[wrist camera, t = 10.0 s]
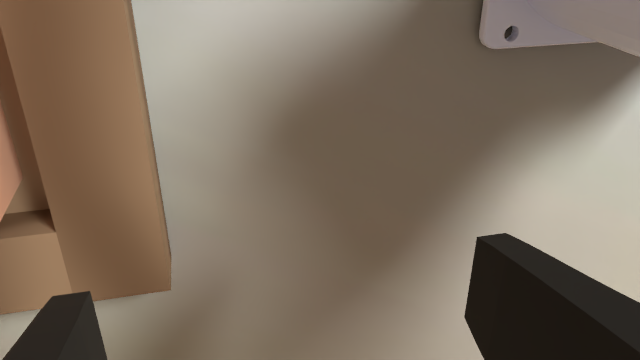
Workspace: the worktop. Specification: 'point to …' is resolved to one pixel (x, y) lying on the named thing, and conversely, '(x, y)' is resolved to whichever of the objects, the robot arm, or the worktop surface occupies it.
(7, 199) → the bar
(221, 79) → the worktop surface
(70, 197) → the board
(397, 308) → the worktop surface
